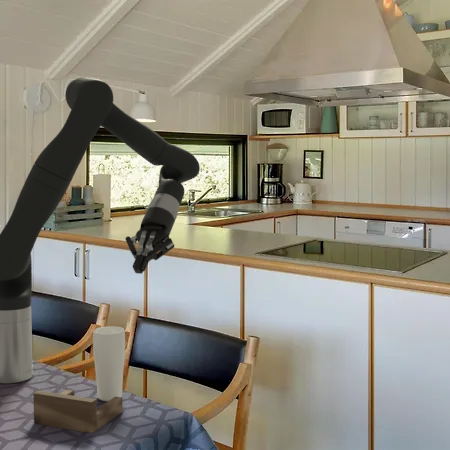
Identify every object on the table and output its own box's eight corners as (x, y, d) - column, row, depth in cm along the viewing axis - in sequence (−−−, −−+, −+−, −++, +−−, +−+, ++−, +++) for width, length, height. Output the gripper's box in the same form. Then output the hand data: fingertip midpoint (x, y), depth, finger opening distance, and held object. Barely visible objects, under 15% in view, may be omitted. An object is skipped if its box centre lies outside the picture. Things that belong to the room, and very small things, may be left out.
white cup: (101, 405, 128) (100, 335, 127) (89, 396, 133) (88, 328, 132) (130, 399, 132) (130, 331, 130) (118, 390, 137) (117, 324, 136)
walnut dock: (67, 403, 129) (67, 375, 129) (122, 411, 125) (122, 383, 124) (34, 423, 119) (33, 393, 118) (92, 433, 114) (91, 402, 114)
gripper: (132, 205, 152) (106, 260, 142) (180, 206, 147) (157, 263, 137) (142, 224, 157) (118, 279, 147) (189, 226, 153) (168, 282, 142)
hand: (137, 271), depth 142 cm, fingers closed
